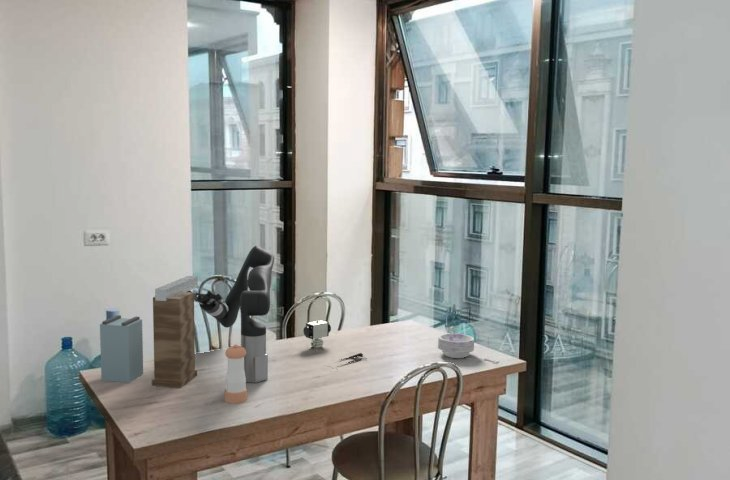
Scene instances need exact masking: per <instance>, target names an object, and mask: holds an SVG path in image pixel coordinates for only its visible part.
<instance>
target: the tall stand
mask: <svg viewBox="0 0 730 480" xmlns="http://www.w3.org/2000/svg"><path fill="white" fill-rule="evenodd" d="M194 293H195V292H193V291H191V292H185V293H183V294H181V295H178V296H176V297H174V298H172V299H170V300H167V301H157V300H155V296H152V318H153V319H152V321H153V322H152V323H153V325H152V326H153V331H152V332H153V368H154V369H153V371H154V373H153V374H154V375H153V377H154V378H153V379H152V380H151V386H152V387H161V388H174V389H182V388H183V387H185V386H186V385H187V384H188V383H190V382H191V381H192V380H194V379H195V378H196V377H198V370H196V369H195V368H196V358H195V356H196V354H195V353H196V352H195V351H196V350H195V346H196V345H195V339H196V338H195V301H194Z"/></svg>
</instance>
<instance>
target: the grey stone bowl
mask: <svg viewBox="0 0 730 480" xmlns="http://www.w3.org/2000/svg"><path fill="white" fill-rule="evenodd" d="M437 339H438V340H437V349H439V350H440V351H442V354H443V355H444V356H446V357H447V358H449V359H450V358H451V359H464V357H465V358H466V357H468V356H469V354H470V353H472V352H474V351H475V338H474V337H473V336H472V335H469V334H468V335H467V334H462V333H442V334H440V335H438V338H437Z"/></svg>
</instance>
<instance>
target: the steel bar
mask: <svg viewBox="0 0 730 480" xmlns="http://www.w3.org/2000/svg"><path fill="white" fill-rule="evenodd" d="M198 282H199V279H198V276H192V275H187V276H184V277H182V278H179V279H176V280H175V281H172V282H170V283H167V284H164V285H161V286H159V287H156V288H155V289H154V294H155V295H154V297H155V300H157V301H167V300H170V299H172V298H174V297H176V296H178V295H181V294H183V293H185V292H187V291H192V290H194V289H196V288H198V287H199V284H198Z"/></svg>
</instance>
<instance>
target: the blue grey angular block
mask: <svg viewBox="0 0 730 480" xmlns="http://www.w3.org/2000/svg"><path fill="white" fill-rule="evenodd" d="M99 340H100V341H99V342H100V343H99V344H100V345H99V346H100V374H101V376H100V377H101V381H102V382H103V381H104V382H113V381H114V383H116V382H117V383H126V384H130V383H131V382H133V381H136V379H138V378H139V377H141V376H143V375H144V351H143V349H144V348H143V347H144V346H143V345H144V344H143V343H144V342H143V319H141V318H140V316H134V317H132V318H125V317H124V318H123V317H122V315H121V314H120V315H115V316H112V317H110V318H108V319H105V320H103V321H102V322H101V323H100V324H99Z"/></svg>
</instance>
